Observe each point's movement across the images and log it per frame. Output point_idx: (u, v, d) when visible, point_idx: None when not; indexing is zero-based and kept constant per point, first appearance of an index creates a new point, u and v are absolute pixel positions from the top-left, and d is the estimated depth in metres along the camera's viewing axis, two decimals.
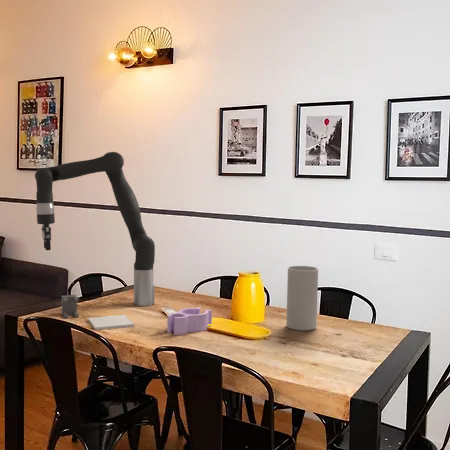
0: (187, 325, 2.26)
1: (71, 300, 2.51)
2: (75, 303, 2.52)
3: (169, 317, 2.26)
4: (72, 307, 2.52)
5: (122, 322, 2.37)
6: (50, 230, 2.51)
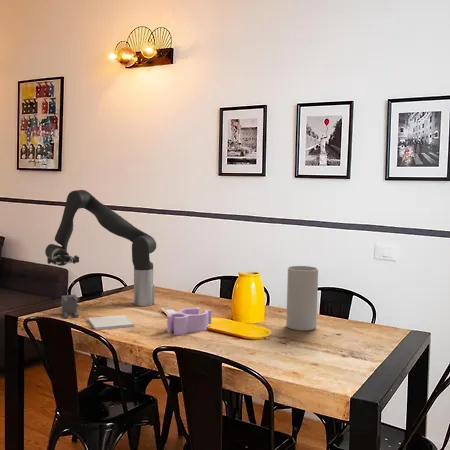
0: (187, 325, 2.26)
1: (71, 300, 2.51)
2: (75, 303, 2.52)
3: (169, 317, 2.25)
4: (72, 307, 2.52)
5: (122, 322, 2.37)
6: (57, 256, 2.68)
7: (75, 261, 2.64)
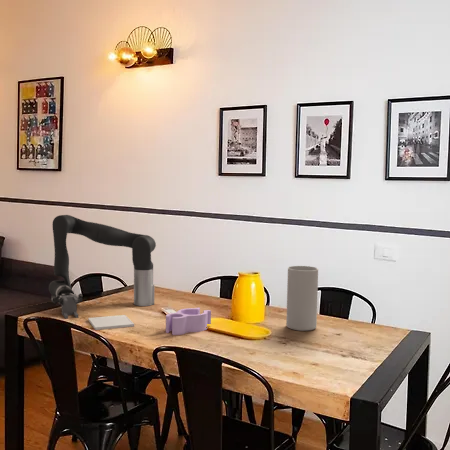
0: (185, 325, 2.26)
1: (71, 300, 2.51)
2: (75, 303, 2.52)
3: (167, 317, 2.25)
4: (72, 307, 2.52)
5: (122, 322, 2.37)
6: (62, 294, 2.57)
7: (78, 301, 2.52)
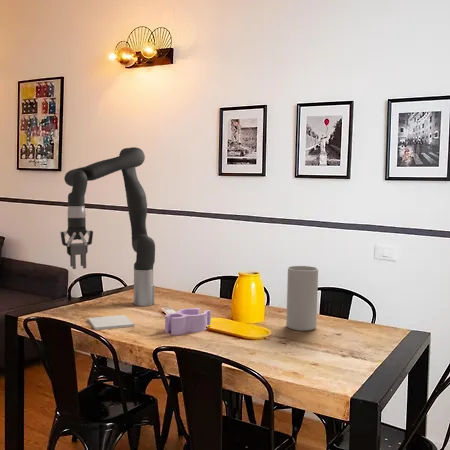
0: (184, 325, 2.25)
1: None
2: None
3: (167, 317, 2.25)
4: None
5: (122, 322, 2.37)
6: None
7: (68, 253, 2.46)
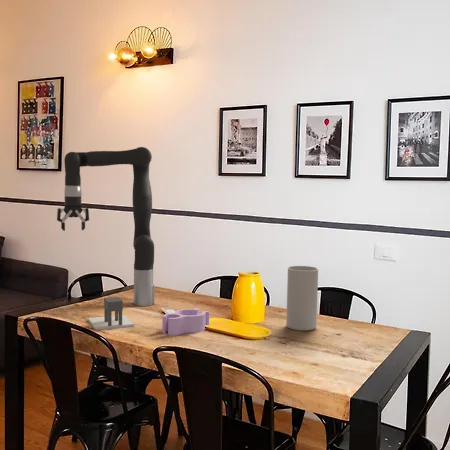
0: (181, 325, 2.24)
1: None
2: None
3: (164, 317, 2.25)
4: None
5: (122, 322, 2.37)
6: None
7: None
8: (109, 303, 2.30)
